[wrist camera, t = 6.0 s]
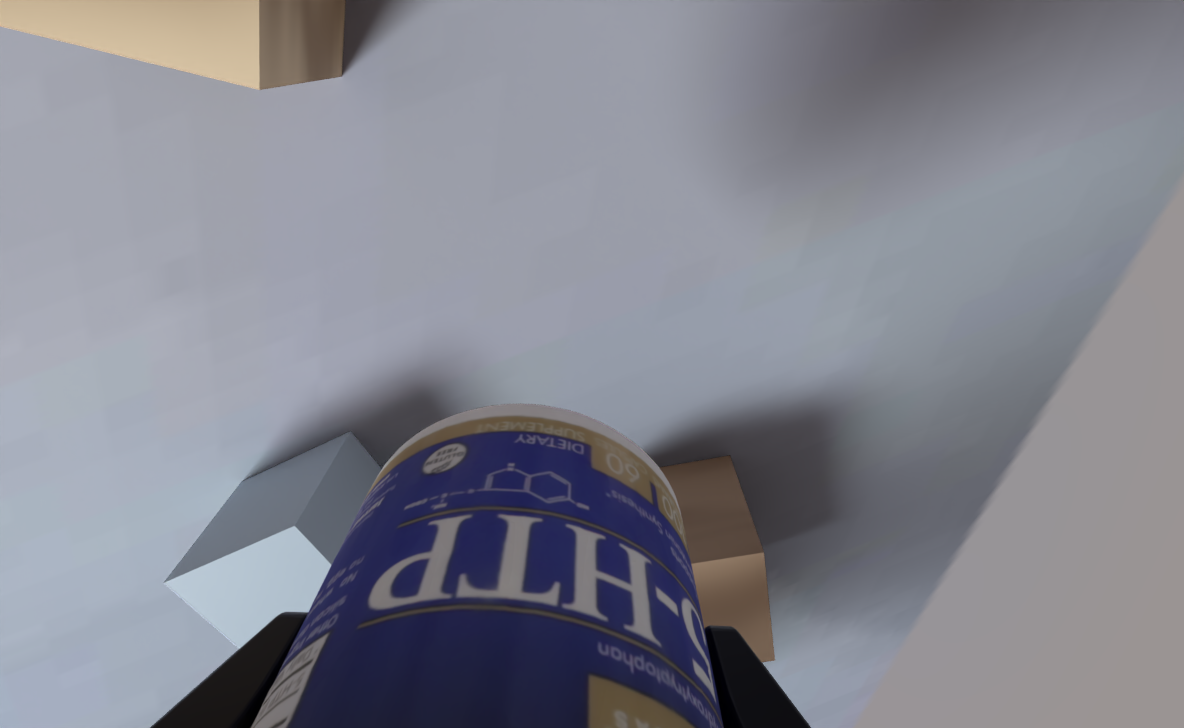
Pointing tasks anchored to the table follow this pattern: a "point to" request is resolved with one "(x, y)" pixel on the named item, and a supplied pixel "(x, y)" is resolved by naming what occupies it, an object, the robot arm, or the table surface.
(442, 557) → the pill bottle
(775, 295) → the table surface
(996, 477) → the table surface
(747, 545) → the walnut block
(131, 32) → the oak block
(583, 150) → the table surface
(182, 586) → the slate block
